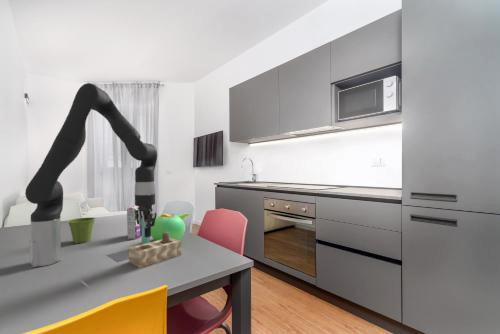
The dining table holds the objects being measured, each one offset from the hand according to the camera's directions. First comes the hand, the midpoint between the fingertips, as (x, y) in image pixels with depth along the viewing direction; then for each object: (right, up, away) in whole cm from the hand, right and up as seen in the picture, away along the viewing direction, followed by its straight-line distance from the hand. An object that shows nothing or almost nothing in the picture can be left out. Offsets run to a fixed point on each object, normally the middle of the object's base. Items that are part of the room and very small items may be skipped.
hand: (145, 236), depth 98 cm
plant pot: (-45, -11, +28) cm, 54 cm away
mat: (-12, -10, +8) cm, 17 cm away
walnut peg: (+6, -10, +7) cm, 14 cm away
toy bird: (0, -11, +27) cm, 29 cm away
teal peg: (0, -3, 0) cm, 3 cm away
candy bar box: (-20, -11, +36) cm, 43 cm away
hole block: (+3, -10, +3) cm, 11 cm away
